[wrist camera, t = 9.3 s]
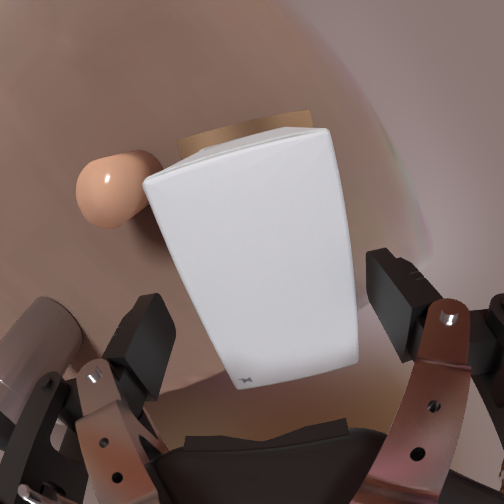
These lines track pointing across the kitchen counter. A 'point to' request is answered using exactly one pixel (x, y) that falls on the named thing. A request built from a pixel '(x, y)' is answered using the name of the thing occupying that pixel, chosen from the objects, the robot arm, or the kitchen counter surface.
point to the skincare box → (264, 252)
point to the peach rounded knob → (115, 187)
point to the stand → (242, 131)
